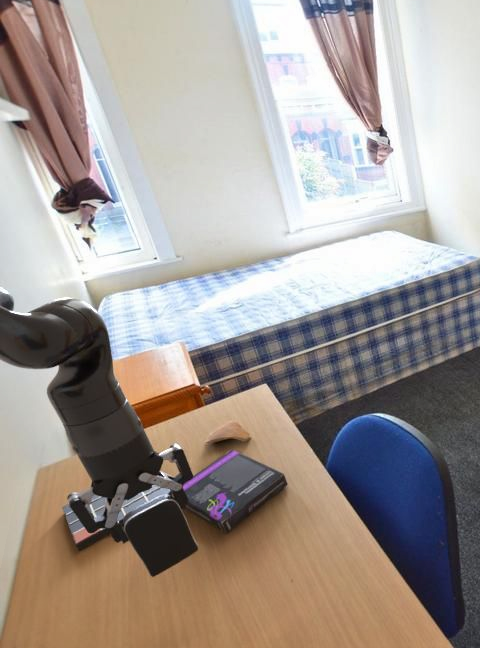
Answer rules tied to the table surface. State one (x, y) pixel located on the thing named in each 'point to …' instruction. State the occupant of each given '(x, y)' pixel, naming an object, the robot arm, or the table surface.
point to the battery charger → (159, 534)
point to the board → (96, 509)
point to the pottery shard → (228, 433)
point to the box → (231, 489)
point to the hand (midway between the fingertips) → (154, 522)
